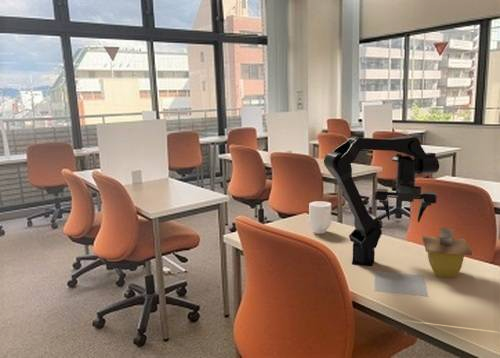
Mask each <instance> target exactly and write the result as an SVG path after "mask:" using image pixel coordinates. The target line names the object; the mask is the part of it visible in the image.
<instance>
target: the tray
mask: <svg viewBox="0 0 500 358" xmlns="http://www.w3.org/2000/svg"><path fill="white" fill-rule="evenodd" d="M426 285H427V284H426V281H425V277H424V275H421V274H413V273H412V274H411V273H400V272H399V273H398V272H389V271H388V272H387V271H379V270H377V271H376V270H375V271H374V292H382V293H389V294H398V295H400V294H401V295H410V296H419V297H429V294H428V289H427V286H426Z"/></svg>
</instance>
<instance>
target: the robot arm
mask: <svg viewBox="0 0 500 358" xmlns="http://www.w3.org/2000/svg"><path fill="white" fill-rule="evenodd" d="M362 150H363V151H364V150H365V151H387V152H388V151H390V152H395V153H396V155H395V156H393V157H392V158H391V161H392V162H395V163H397V165H396V166H397V167H396V183H395V191H388V188H377V189H375V193H374V200H376V201H377V200H378V202H379V203H381V204H382V205H383V208H384V210H385V213H386V216H387V220H388V221H390V219H391V218H390V216H391V214H390V204H389V201H390V200H389V198H393V199H397V201H398V202H401V203H402V202H408V203H413V202H414V200H419V206H418V208H419V209H418V213H417V223H420V222H421V221H420V220H421V219H422V216H423V214H424V211H425V210H426V209H427V208H428V206H429V207H430V206H432V205H433V204H437V200H438V199H437V196H438V195H437V194H436V193H435V192H434V191H430V190H423V191H422V186H419V185H416V174H418V175H422V174H423V175H426V174H429V175H430V174H436V173H437V172H439V169H440V163H439V158H437V156H436V154H437V153H435V152H427V153H426V152H425V150H424V148H423V147H422V145H421V141H420V140H419V137H415V136H407V135H400V136H393V137H391V138H379V137H377V138H375V137H360V136H351V137H350V138H348V139H347V140H346V141H345V142H343V143H342V144H340V145H339V146H337V147H336V148H335V149H333V151H330V152H328V153H327V154H326V156H324V160H323V165H324V166H325V168H326V170H327V171H328V172H329V174H330V175H331V176H332V177H333V178H334V179H335V180H336V181H337V182H338V186H339V187H340V189H341V191H342V193H343V196H344V198H345V200H346V202H347V204H348V206H349V208H350V210H351V212H352V215H353V217H354V221H353V222H354V223H353V224H354V227H355V228H354V229H353V231H351V232H350V234H349V235H348V237H349V241H350V242H351V243H352V260H351V265H354V266H355V265H356V266H365V267H366V266H367V267H373V264H374V263H375V255H376V254H375V253H376V252H375V251H376V250H375V249H376V248H377V246H378V243H379V240H380V238H381V236H383V235H382V234H383V232H382V229H383V228H384V227H383V226H382V225H381V224H380V220H379V218H378V217H377V216H375V215H373V214H371V213H369V211H368V209H367V207H366V205H365V203H364V201H363V199H362V197H361V194H360V192H359V190H358V187H357V186H356V183H355V181H354V178H353V176H352V175H353V168H352V163H353V162H354V161H355V160H356V159H357V158H358V156H359V153H360V152H361V151H362ZM402 154H405V155H402Z"/></svg>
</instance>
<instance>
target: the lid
mask: <svg viewBox="0 0 500 358" xmlns="http://www.w3.org/2000/svg"><path fill="white" fill-rule="evenodd" d="M453 232H454V231H453V229H451V228H447V227H445V228H440V236H439V237H437V236H421V238H422V242H423V246H424V250H425V252H426V253H428V252H434V253H447V254H460V255H464V256H473V252H472V250H471V247H470V246H469V244H468V243H467V241H466V240H465V239H464V238H458V237H457V238H455V237H454V238H453V234H454V233H453Z"/></svg>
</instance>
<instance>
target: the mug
mask: <svg viewBox="0 0 500 358" xmlns="http://www.w3.org/2000/svg"><path fill="white" fill-rule="evenodd" d="M308 207H309V208H308V219H309V225H310V227H311V231H312V233H314V234H316V235H323V234H325V233H326V232H327V230H328V229H329V228H330V227H331V224H332V222H333V221H332V219H333V218H332V202H329V201H323V200H319V201H318V200H317V201H311V202H309V204H308Z"/></svg>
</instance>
